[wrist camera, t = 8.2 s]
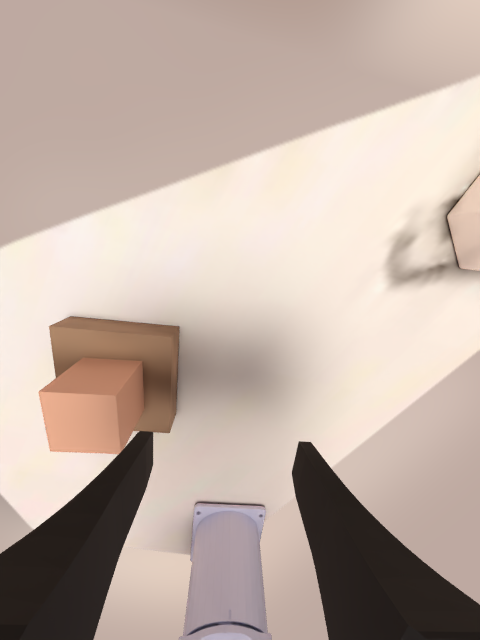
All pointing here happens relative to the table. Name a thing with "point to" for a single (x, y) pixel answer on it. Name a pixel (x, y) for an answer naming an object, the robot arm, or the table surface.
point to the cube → (93, 406)
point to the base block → (126, 344)
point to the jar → (467, 228)
